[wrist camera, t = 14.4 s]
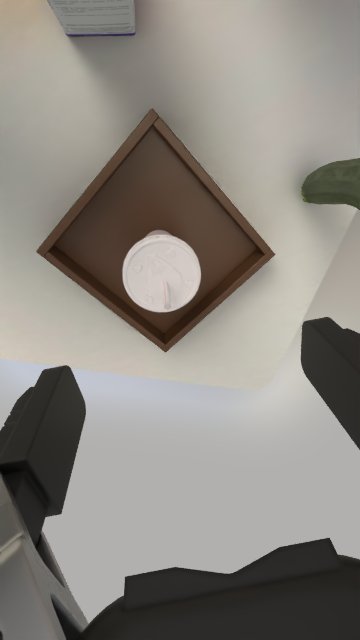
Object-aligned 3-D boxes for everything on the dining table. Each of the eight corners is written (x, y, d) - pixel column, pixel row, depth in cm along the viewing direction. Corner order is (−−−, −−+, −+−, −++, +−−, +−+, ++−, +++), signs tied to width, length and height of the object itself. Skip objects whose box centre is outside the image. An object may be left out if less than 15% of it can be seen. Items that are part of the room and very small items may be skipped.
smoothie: (145, 284, 34) (142, 353, 22) (118, 232, 31) (97, 277, 19) (197, 261, 33) (224, 319, 21) (174, 205, 30) (190, 235, 18)
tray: (46, 243, 32) (35, 251, 29) (152, 113, 27) (152, 107, 24) (164, 338, 39) (165, 352, 36) (265, 246, 34) (275, 254, 31)
